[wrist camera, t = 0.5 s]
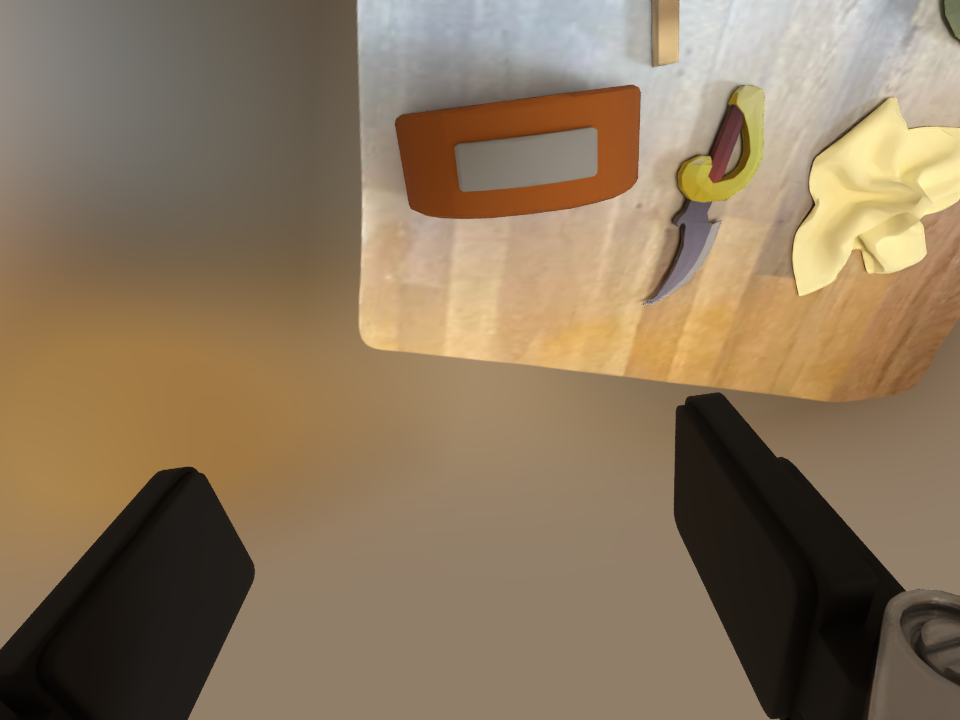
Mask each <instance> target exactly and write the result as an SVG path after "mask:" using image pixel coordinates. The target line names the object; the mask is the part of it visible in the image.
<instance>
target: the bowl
mask: <svg viewBox="0 0 960 720" xmlns="http://www.w3.org/2000/svg"><path fill="white" fill-rule="evenodd" d="M944 3H945V15H946V17H947V20H948V22H949V24H950V26H951V28H952V30H953V32H954V34H955V35H956V37H957V38H959V39H960V0H944Z"/></svg>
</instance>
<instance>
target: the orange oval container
mask: <svg viewBox="0 0 960 720" xmlns="http://www.w3.org/2000/svg"><path fill="white" fill-rule="evenodd" d="M640 100H641V92H640V89H639V87H636V86H634V85H626V86H618V87H610V88H603V89H595V90H587V91H580V92H572V93H564V94H556V95H549V96H541V97H533V98H526V99H518V100H510V101H502V102H495V103H487V104H479V105H472V106H464V107H456V108H448V109H441V110H433V111H425V112H418V113H410V114H403V115H401V116H399V117H398V118H397V119H396V121H395V127H396V133H397V138H398V144H399V150H400V155H401V161H402V167H403V172H404V178H405V184H406V189H407V195H408V201H409V206H410V207H411V209H412V210H415V211H417V212H419V213H422V214H424V215H426V216H432V217H438V218H456V219H474V218H496V217H506V216H516V215H526V214H534V213H542V212H549V211H556V210H564V209H571V208H575V207H580V206H584V205H589V204H593V203H597V202H600V201H604V200H607V199H611V198H614V197H616V196H618V195H620V194H622V193H624V192H626V191H627V190H629V189H630V188H632V186H633V185H634V184H635V183H636V181H637V179H638V160H639V130H640Z"/></svg>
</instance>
